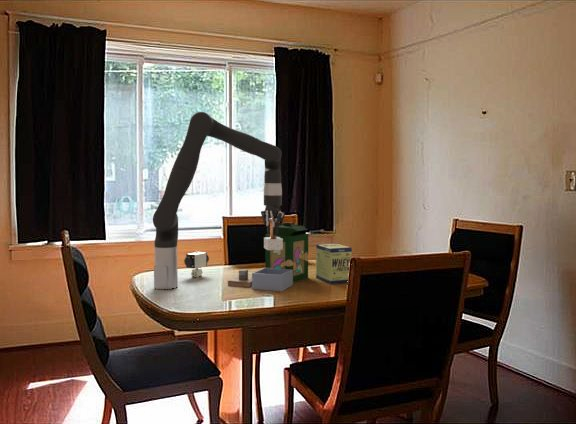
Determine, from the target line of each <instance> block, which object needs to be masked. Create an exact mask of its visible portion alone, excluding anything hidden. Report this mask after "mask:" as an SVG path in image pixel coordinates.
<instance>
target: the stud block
mask: <svg viewBox="0 0 576 424" xmlns="http://www.w3.org/2000/svg"><path fill="white" fill-rule="evenodd" d="M227 286H232V287H241V288H242V287H243V288H244V287H245V288H250V287H251V288H252V276H251V277H249V269H239V270H238V276H236V277H233V278H231V279H228V280H227Z"/></svg>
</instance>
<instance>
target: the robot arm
mask: <svg viewBox="0 0 576 424" xmlns="http://www.w3.org/2000/svg"><path fill="white" fill-rule="evenodd" d="M207 137H210V138H213V139H217V140H220V141H221V142H223V143H226V144H228V145H229V146H231V147H234V148H236V149H239V150H240V151H242V152H245V153H248V154H250V155H253V156H256V157H258V158H261V159H262V160H264V176H263V177H264V179H263V180H264V183H263V206H265V209H264V210H261V211H260V215H261V218H262V222H263V225H266V227H267V228H266V231H267V233H266V234H268V235H270V221H272V223H273V236H278V227H279V226H281V225H282V224H283V223H284V219H285V215H286V213H285V212H282V211H281V206H282V205H283V203H282V202H283V200H282V199H283V188H282V171H281V165H282V163H281V162H282V160H281V159H282V157H283V156H282V150H281V148H280V147H278V146H276V145H273V144H272V143H268V142H265V141H264V140H263V141H262V140H261V139H259V138H257V137H255V136H253V135H250V134H249V133H246V132H244V131H240V130H237V129H234V128H231V127H229V126H227V125H224V124H222V123H221V122H219V121H218V120H216V119H214V118H213V117H212V115H210V114H209V113H207V112H205V111H197V112H195V113H194V114H192V116H191V117H190V119H189V123H188V128H187V131H186V135H185V137H184V141H183V143H182V146H181V148H180V149H179V152H178V154H177V156H176V158H175V161H174V163H173V166H172V167H171V170H170V174H169V177H168V180H167V182H166V183H167V184H166V185H165V190H164V192H163V196H162V198H161V200H160V202H159V204H158V206H157V208H156V209H155V212H154V213H153V215H152V223H153V226H154V228H155V239H154V266H153V289H154V288H156V290H164V289H166V290H167V289H168V290H173V289H172V288H174V289H177V288H178V287H179V285H178V283H179V281H178V279H179V278H178V277H179V276H178V241H179V216H178V209H179V206H180V204H181V201H182V199H183V198H184V197H185V194H186V193H187V192H188V190H189V188H190V186H191V185H192V182H193V179H194V176H195V174H196V172H197V168H198V164H199V160H200V157H201V156H200V155H201V151H202V147H203V145H204V143H205V141H206V139H207ZM275 221H276V224H275ZM176 287H177V288H176Z"/></svg>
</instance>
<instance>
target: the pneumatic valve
mask: <svg viewBox="0 0 576 424" xmlns="http://www.w3.org/2000/svg"><path fill="white" fill-rule="evenodd" d="M209 259H210V256H209V255H208V252H206V251H198V250H195V252H191V253H186V254H185V258H184V262H183V263H184V265H185V266H186V268H187V269H191V273H190V274H191V275H190V276H191V277H192V276H195V277H194V278H196V277H197V278H200V277H199V276H202V277H203V269H202V268H204V267H208V263H209Z"/></svg>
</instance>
